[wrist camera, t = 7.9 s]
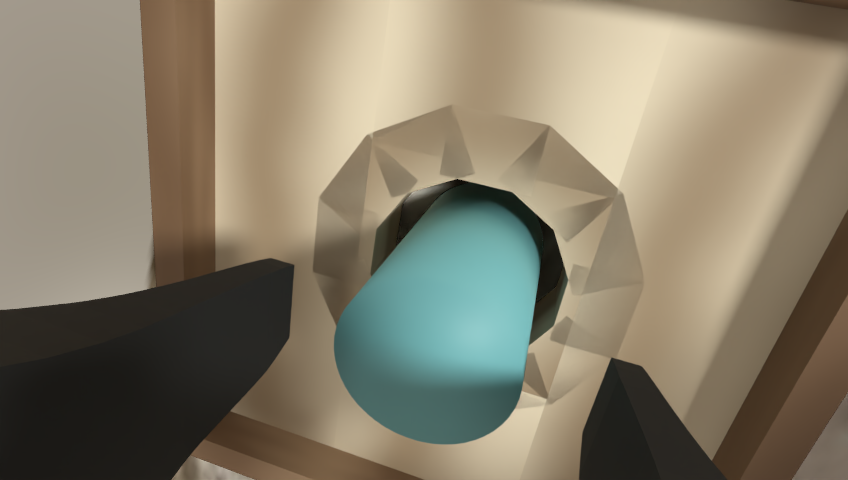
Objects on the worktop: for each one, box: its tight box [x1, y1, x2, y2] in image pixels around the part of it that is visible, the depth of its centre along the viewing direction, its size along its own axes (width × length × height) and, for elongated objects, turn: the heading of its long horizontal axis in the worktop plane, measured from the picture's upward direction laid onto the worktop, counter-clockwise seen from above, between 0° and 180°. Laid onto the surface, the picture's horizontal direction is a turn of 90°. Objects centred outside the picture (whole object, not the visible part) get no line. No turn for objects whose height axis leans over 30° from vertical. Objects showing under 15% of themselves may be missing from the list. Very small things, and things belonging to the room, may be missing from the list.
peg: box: [334, 183, 543, 445], centre depth 14 cm, size 4×4×7 cm
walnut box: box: [140, 0, 848, 480], centre depth 15 cm, size 18×18×4 cm
